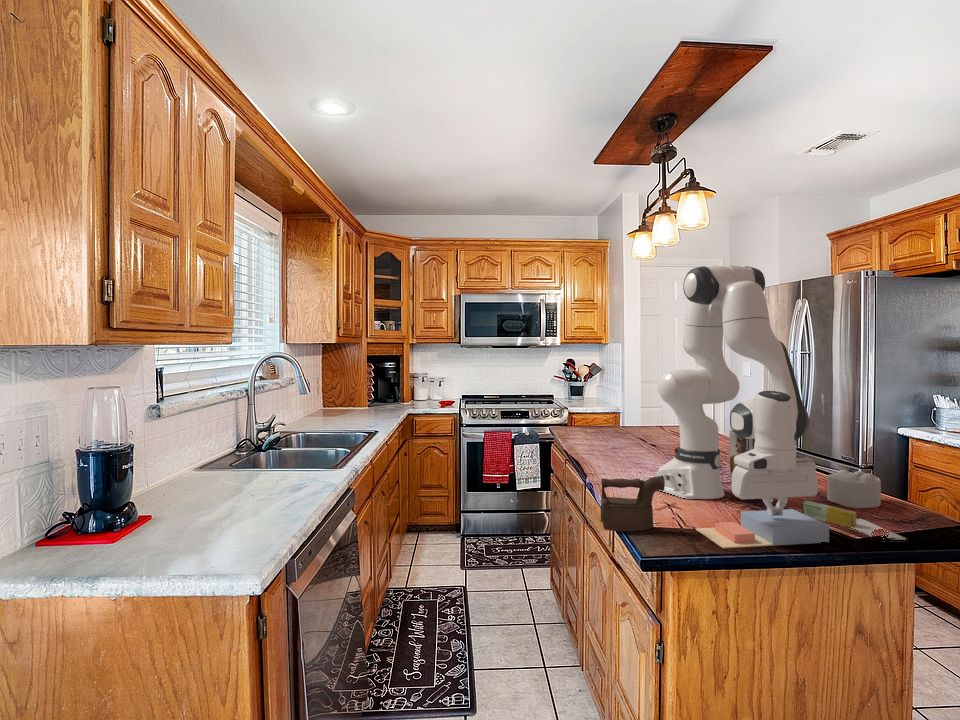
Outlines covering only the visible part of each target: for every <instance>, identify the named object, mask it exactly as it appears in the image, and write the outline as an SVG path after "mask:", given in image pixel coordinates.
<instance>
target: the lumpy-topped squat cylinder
mask: <svg viewBox="0 0 960 720" xmlns="http://www.w3.org/2000/svg"><path fill="white" fill-rule="evenodd" d="M826 482H827V484H826V485H827V486H826V487H827V490H826V491H827V492H826V493H827V495H826V496H827V500H828V501H829V502H833V503H836V504H838V505H840V506H843V507H846V508H847V507H848V508H853V509H855V508H856V509H867V508H871V509H872V508H878V507H880V506H881V505H882V500H881V499H882V496H881V495H882V487H881V486H882V483H881V482H882V480H881V478H879V477H878V476H876V475H874V474H873V473H870V472H868V473H867V472H864V471H863V470H857V471H854V472H850V471H849V470H847V469H840V470H839V471H838V472H835V473H832V474H828V475H827V481H826Z"/></svg>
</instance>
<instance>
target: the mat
mask: <svg viewBox="0 0 960 720" xmlns="http://www.w3.org/2000/svg"><path fill="white" fill-rule="evenodd" d="M695 530H696V531H697V532H699V534H700V533H701V534H702V536H705V537H706V538H707V539H709V540H710V541H712V542H714V544H716V545H717V546H718V547H720V548H722V549H739V548H740V549H741V548H755V547H756V548H757V547H758V548H759V547H770V546H772V547H773V544H771V543H770V542H768V541H766V540H764V539H763V538H761V537H759V536H757V535H756V534H755V542H745V543H734V542H732V541H730V540H729V539H727V538H726V537H724V536H723V535H721V534H719V533H718V532H716V531H715V526H714V527H703V528H702V527H699V528H697V527H696V528H695Z"/></svg>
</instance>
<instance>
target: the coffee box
mask: <svg viewBox="0 0 960 720" xmlns="http://www.w3.org/2000/svg"><path fill="white" fill-rule="evenodd" d="M754 443H755V439H747V438H742V437H739V436H738V435H737V434H736V433H735V432H734V431H733V430H729V466H730V468H729V470H730V474H731V475H732V473H733V470H734V468H735V467H736V466H738V465H737V464H735V462H734V457H735V456H737V455H739V454H742V453H745V452H747V451H749V450H752V449H754Z"/></svg>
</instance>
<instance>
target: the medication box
mask: <svg viewBox="0 0 960 720" xmlns="http://www.w3.org/2000/svg"><path fill="white" fill-rule="evenodd" d="M801 513H802V514H805V515H807V516H809V517H811V518H814V519H816V520H818V521H821V522H826V521H827V523H830V522H832V523H831V524H834V523H837V524H836V525H838V524H840V525H839V526H842V525H845V526H844V527H846V526H848V527H847V528H849V527H855V526H856V518H857V511H853V510H849V509H844V508H840V507H836V506H831V505H827V504H825V503H821V502H820V503H819V502H814V501H810V500H808V499H807V500H803V501H802V502H801Z"/></svg>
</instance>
